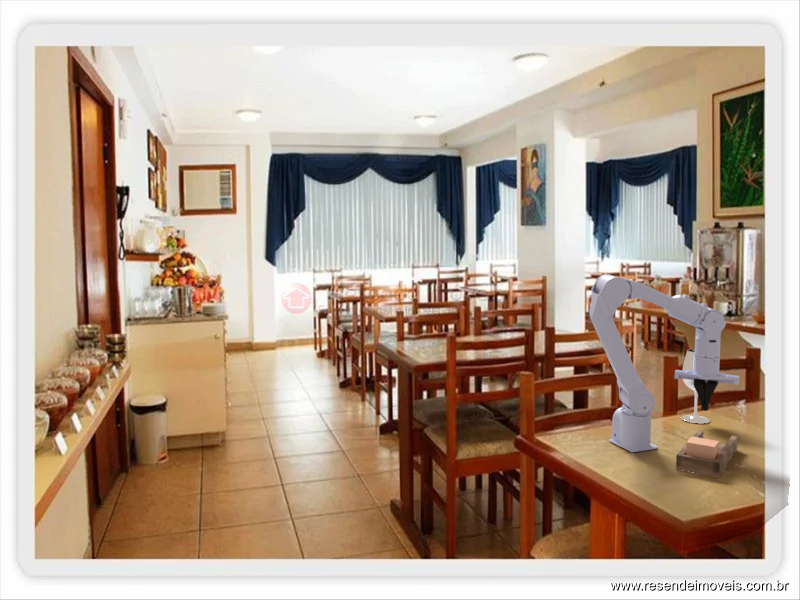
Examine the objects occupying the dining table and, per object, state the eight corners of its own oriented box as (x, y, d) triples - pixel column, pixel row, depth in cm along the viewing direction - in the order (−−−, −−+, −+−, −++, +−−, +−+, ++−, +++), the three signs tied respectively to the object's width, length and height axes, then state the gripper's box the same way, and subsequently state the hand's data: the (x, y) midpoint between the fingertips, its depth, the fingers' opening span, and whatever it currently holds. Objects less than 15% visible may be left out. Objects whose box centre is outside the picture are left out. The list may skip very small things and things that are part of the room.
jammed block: (690, 456, 159) (691, 436, 159) (718, 461, 156) (719, 440, 155) (685, 463, 155) (686, 442, 155) (713, 468, 152) (714, 447, 151)
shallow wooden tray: (698, 443, 172) (698, 429, 171) (736, 449, 167) (737, 436, 166) (675, 469, 154) (676, 455, 154) (718, 478, 149) (719, 462, 149)
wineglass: (703, 415, 195) (705, 347, 193) (715, 424, 187) (718, 353, 185) (676, 416, 195) (678, 348, 193) (686, 424, 188) (689, 353, 185)
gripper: (673, 356, 167) (671, 409, 169) (738, 362, 160) (735, 417, 162) (678, 351, 173) (676, 402, 175) (740, 356, 166) (738, 410, 168)
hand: (705, 409), depth 169 cm, fingers closed
